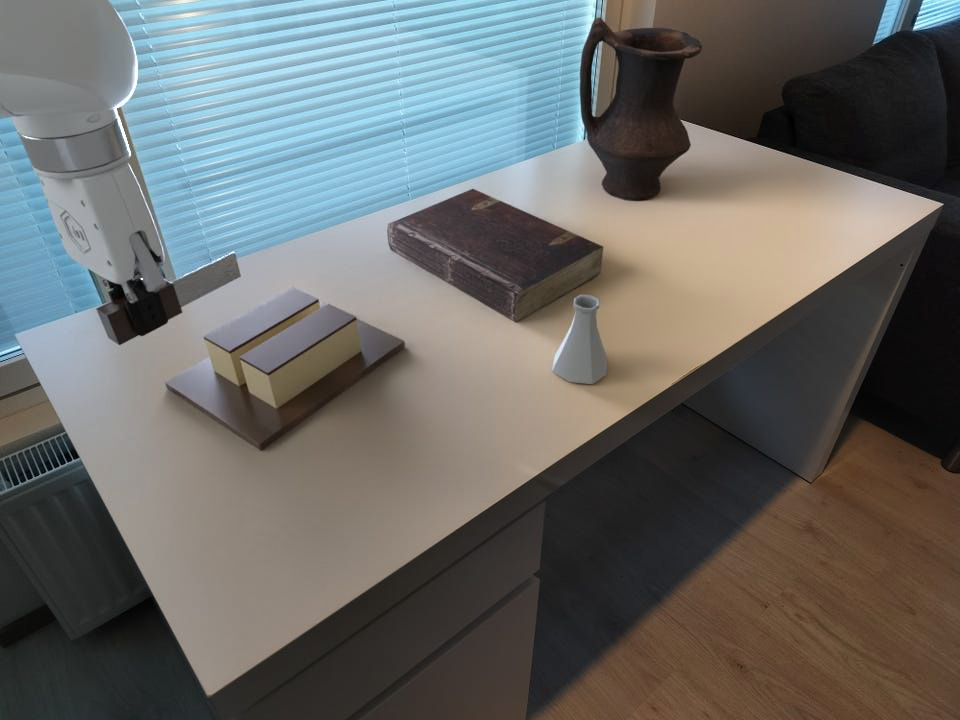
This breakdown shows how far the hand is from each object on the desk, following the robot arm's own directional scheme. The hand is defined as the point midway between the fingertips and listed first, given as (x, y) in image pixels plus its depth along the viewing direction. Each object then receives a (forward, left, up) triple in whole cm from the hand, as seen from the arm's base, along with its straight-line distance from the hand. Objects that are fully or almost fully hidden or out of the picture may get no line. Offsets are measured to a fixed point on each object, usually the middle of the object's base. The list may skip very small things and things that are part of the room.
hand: (144, 322), depth 68 cm
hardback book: (+52, -5, -16) cm, 55 cm away
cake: (+15, 0, -16) cm, 22 cm away
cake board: (+15, 0, -16) cm, 22 cm away
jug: (+90, -9, -16) cm, 92 cm away
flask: (+37, -30, -16) cm, 50 cm away
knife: (+4, 0, 0) cm, 4 cm away
